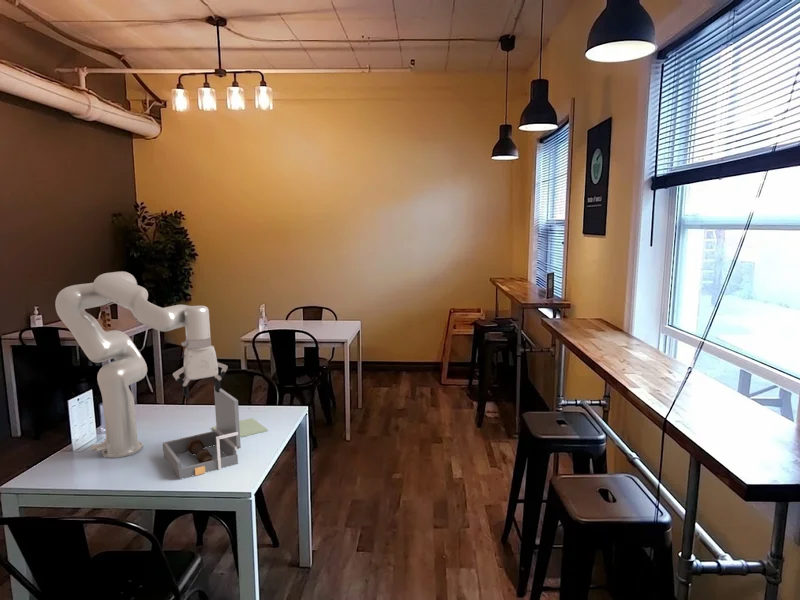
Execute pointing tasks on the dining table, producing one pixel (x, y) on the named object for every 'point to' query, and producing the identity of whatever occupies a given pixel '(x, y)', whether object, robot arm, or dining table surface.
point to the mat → (249, 427)
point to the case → (210, 439)
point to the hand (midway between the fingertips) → (202, 394)
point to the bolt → (199, 450)
